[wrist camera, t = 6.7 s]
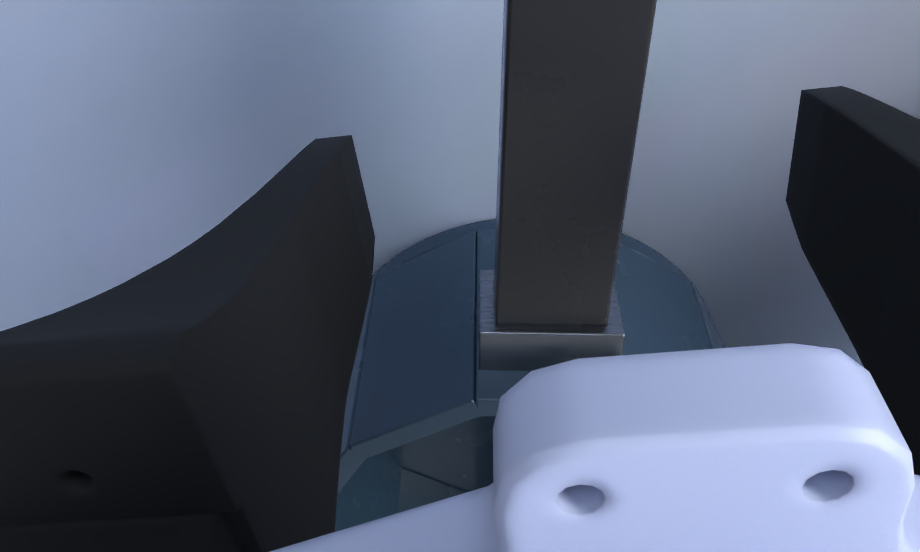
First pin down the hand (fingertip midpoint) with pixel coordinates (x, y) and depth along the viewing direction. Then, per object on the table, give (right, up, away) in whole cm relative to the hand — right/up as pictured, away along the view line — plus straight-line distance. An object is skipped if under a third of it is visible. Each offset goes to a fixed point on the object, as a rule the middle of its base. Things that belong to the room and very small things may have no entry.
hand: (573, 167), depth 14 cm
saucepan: (0, -1, +8) cm, 8 cm away
